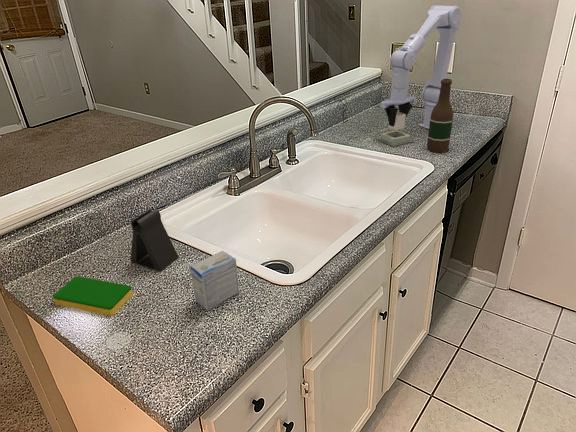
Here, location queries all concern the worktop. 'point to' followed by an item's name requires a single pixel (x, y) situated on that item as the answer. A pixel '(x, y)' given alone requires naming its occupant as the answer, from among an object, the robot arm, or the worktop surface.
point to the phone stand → (151, 242)
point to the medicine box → (215, 279)
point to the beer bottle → (441, 120)
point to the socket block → (395, 138)
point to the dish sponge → (93, 295)
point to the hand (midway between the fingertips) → (396, 124)
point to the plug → (399, 122)
